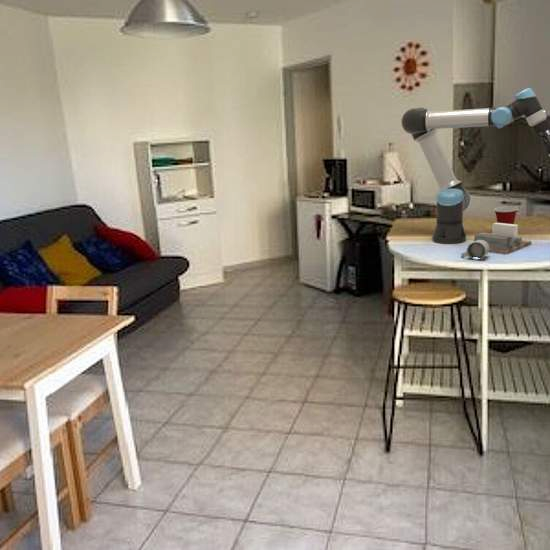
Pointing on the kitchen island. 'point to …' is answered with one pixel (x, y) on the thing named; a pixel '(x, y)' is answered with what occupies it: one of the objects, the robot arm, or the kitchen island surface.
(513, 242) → the housing
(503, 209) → the plastic cup
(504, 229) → the cream rectangular block
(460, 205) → the robot arm
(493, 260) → the kitchen island surface
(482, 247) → the ceramic mug
